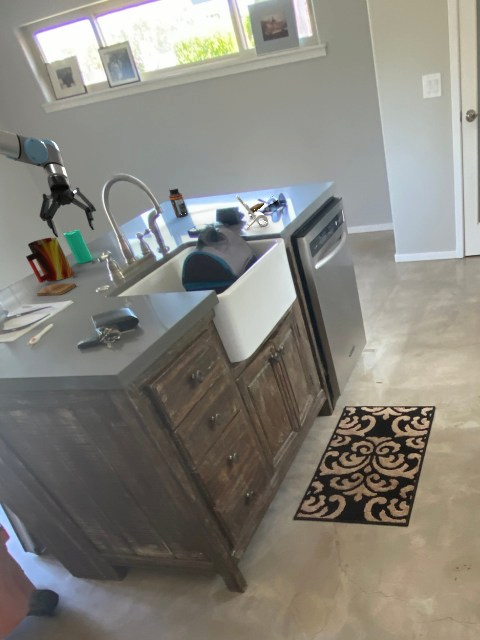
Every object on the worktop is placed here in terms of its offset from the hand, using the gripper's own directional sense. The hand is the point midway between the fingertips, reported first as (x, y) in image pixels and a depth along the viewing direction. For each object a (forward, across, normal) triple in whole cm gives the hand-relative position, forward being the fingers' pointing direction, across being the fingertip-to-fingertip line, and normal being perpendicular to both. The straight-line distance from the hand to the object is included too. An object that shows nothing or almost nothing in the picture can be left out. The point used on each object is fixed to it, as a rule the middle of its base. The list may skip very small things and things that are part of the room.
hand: (73, 231), depth 202 cm
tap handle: (-9, -78, -23) cm, 82 cm away
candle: (+10, 0, -4) cm, 11 cm away
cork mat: (+36, +6, +22) cm, 42 cm away
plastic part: (+12, -69, -3) cm, 70 cm away
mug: (+24, +8, +10) cm, 26 cm away
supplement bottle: (-26, -40, -40) cm, 63 cm away
